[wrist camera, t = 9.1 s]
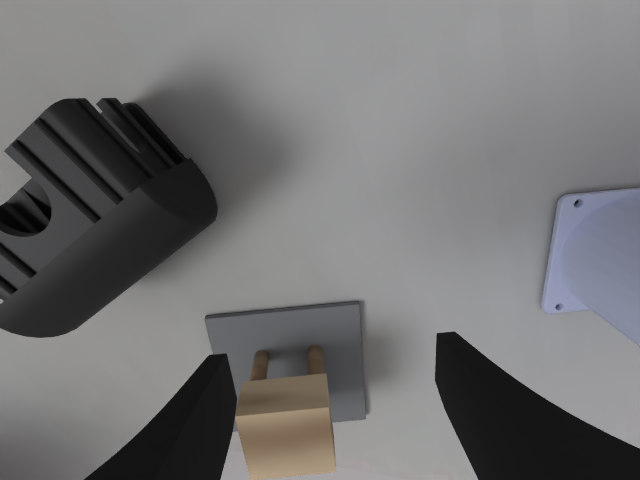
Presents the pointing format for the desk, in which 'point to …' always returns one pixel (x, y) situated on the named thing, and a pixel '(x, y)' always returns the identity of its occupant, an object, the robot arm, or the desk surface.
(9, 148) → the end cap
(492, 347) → the desk surface
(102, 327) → the desk surface
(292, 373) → the mat
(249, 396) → the stool
